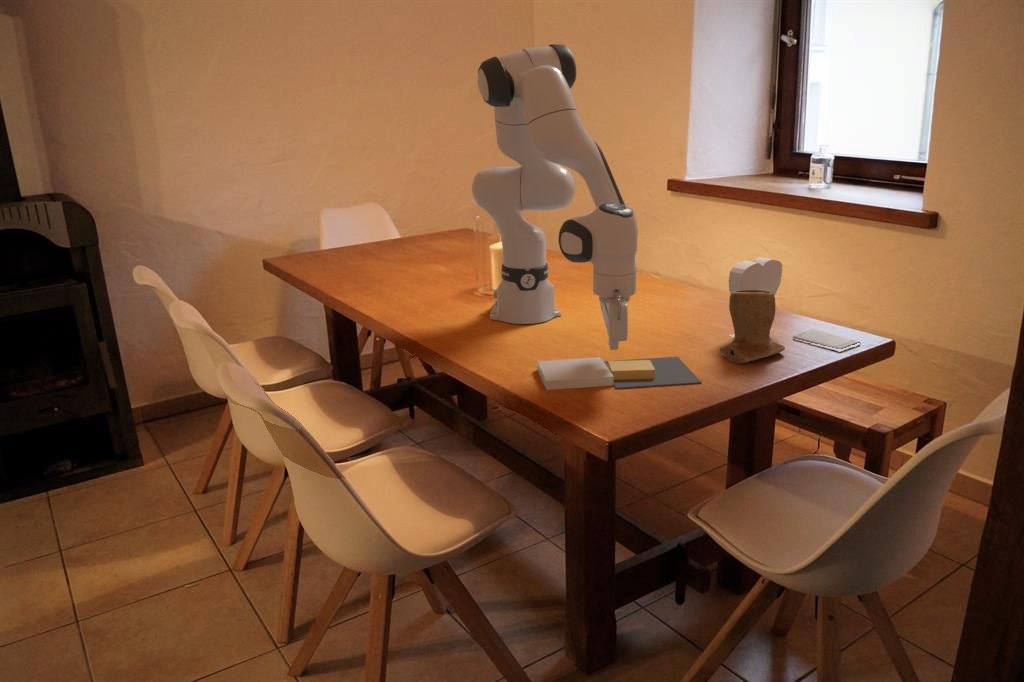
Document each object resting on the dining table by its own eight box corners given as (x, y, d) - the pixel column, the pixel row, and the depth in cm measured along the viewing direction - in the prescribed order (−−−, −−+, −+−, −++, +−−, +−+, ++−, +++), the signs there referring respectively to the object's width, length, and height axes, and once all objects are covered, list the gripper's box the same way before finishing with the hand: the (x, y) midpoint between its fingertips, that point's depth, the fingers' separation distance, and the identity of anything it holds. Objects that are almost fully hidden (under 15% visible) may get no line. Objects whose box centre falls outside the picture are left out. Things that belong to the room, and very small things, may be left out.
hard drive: (792, 335, 197) (840, 348, 188) (813, 328, 202) (860, 340, 192) (792, 342, 198) (839, 355, 188) (813, 335, 202) (860, 347, 193)
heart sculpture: (763, 324, 209) (768, 253, 203) (780, 329, 205) (786, 257, 200) (722, 337, 200) (726, 263, 195) (739, 342, 196) (744, 267, 191)
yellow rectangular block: (611, 379, 174) (612, 370, 173) (607, 369, 180) (608, 361, 179) (654, 378, 174) (655, 369, 174) (649, 368, 180) (650, 359, 179)
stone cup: (749, 342, 197) (754, 280, 192) (791, 355, 187) (797, 290, 182) (704, 355, 188) (708, 290, 184) (746, 369, 179) (750, 302, 174)
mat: (598, 362, 185) (598, 361, 185) (677, 357, 187) (677, 356, 187) (615, 389, 170) (615, 387, 170) (701, 383, 172) (701, 382, 172)
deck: (537, 369, 182) (537, 361, 181) (600, 365, 183) (600, 357, 183) (546, 390, 170) (546, 380, 170) (613, 385, 172) (613, 376, 171)
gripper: (636, 298, 162) (634, 365, 166) (624, 271, 181) (623, 332, 186) (603, 298, 162) (602, 365, 167) (595, 272, 181) (594, 332, 186)
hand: (613, 347), depth 176 cm, fingers closed
